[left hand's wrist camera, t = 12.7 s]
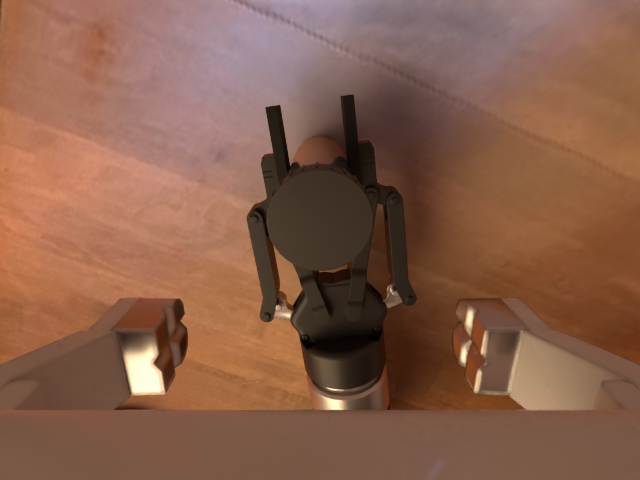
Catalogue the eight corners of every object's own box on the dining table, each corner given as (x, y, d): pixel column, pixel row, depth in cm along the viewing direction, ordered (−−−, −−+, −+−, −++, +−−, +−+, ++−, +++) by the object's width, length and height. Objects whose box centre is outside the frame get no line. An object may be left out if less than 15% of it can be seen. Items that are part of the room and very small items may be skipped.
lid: (271, 158, 18) (266, 163, 17) (376, 166, 19) (381, 172, 17) (268, 255, 20) (263, 268, 19) (363, 262, 20) (367, 275, 19)
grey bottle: (296, 134, 34) (274, 169, 17) (347, 138, 34) (372, 176, 18) (293, 184, 35) (271, 259, 19) (342, 188, 35) (361, 265, 19)
